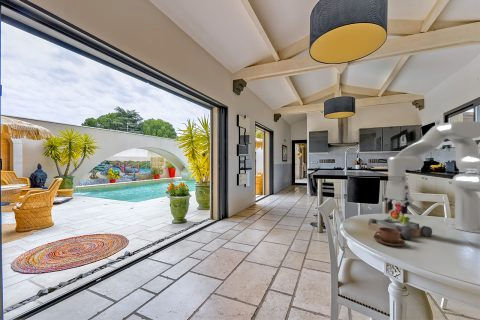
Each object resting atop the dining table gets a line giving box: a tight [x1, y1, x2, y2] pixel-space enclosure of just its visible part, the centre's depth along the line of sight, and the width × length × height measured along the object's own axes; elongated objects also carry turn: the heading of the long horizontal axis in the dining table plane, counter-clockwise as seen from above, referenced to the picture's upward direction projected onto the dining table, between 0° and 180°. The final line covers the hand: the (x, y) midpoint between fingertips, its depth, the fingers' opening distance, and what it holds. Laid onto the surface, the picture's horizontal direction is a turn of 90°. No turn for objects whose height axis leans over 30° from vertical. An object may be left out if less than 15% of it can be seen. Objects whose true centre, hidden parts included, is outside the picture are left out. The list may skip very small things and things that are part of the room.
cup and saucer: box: [373, 228, 406, 247], centre depth 95 cm, size 12×12×6 cm
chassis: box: [367, 216, 433, 241], centre depth 110 cm, size 22×20×6 cm
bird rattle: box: [388, 203, 411, 225], centre depth 110 cm, size 6×11×9 cm
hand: (397, 211), depth 110 cm, fingers closed on bird rattle, 6 cm apart
